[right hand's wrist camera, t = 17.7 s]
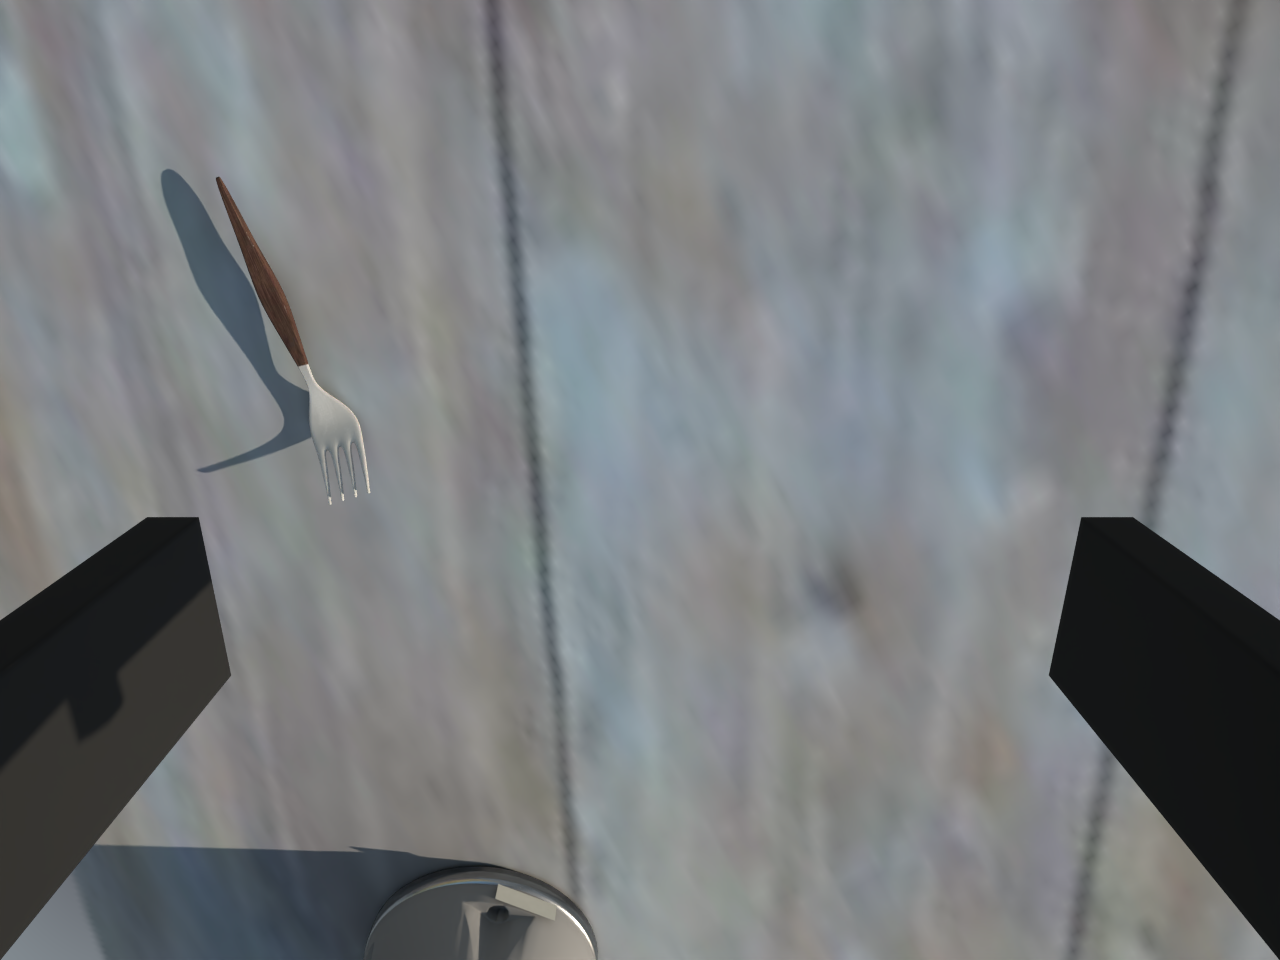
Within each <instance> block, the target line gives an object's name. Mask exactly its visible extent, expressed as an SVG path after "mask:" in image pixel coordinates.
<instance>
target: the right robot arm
mask: <svg viewBox="0 0 1280 960" xmlns="http://www.w3.org/2000/svg"><path fill="white" fill-rule="evenodd" d="M230 676H231V673H230V668H229V663H228V658H227V653H226V648H225V643H224V638H223V634H222V629H221V624H220V619H219V614H218V609H217V604H216V600H215V595H214V590H213V585H212V580H211V575H210V570H209V566H208V561H207V556H206V551H205V546H204V541H203V536H202V531H201V527H200V522H199V517H147V518H145V519H144V520H143V521H141V522H140V523H138V524H137V525H135V526H134V527H133V528H131V529H130V530H128V531H127V532H125V533H124V534H123V535H121V536H120V537H118V538H117V539H116V540H114V541H113V542H111V543H110V544H108V545H107V546H106V547H104V548H103V549H101V550H100V551H98V552H97V553H96V554H94V555H93V556H91V557H90V558H88V559H87V560H86V561H84V562H83V563H81V564H80V565H79V566H77V567H76V568H74V569H73V570H71V571H70V572H69V573H67V574H66V575H64V576H63V577H61V578H60V579H59V580H57V581H56V582H54V583H53V584H51V585H50V586H49V587H47V588H46V589H44V590H43V591H42V592H40V593H39V594H37V595H36V596H34V597H33V598H32V599H30V600H29V601H27V602H26V603H24V604H23V605H22V606H20V607H19V608H17V609H16V610H14V611H13V612H12V613H10V614H9V615H7V616H6V617H5V618H3V619H2V620H0V960H1V959H2V957H3V956H4V955H5V954H6V952H7V951H8V950H9V949H10V947H11V946H12V945H13V944H14V943H15V941H16V940H17V939H18V938H19V936H20V935H21V934H22V933H23V931H24V930H25V929H26V928H27V927H28V925H29V924H30V923H31V922H32V920H33V919H34V918H35V917H36V915H37V914H38V913H39V912H40V910H41V909H42V908H43V907H44V905H45V904H46V903H47V902H48V901H49V899H50V898H51V897H52V896H53V894H54V893H55V892H56V891H57V889H58V888H59V887H60V886H61V885H62V883H63V882H64V881H65V880H66V878H67V877H68V876H69V875H70V873H71V872H72V871H73V870H74V869H75V867H76V866H77V865H78V864H79V862H80V861H81V860H82V859H83V857H84V856H85V855H86V854H87V852H88V851H89V850H90V849H91V848H92V846H93V845H94V844H95V843H96V841H97V840H98V839H99V838H100V836H101V835H102V834H103V833H104V832H105V830H106V829H107V828H108V827H109V825H110V824H111V823H112V822H113V820H114V819H115V818H116V817H117V815H118V814H119V813H120V812H121V811H122V809H123V808H124V807H125V806H126V804H127V803H128V802H129V801H130V799H131V798H132V797H133V796H134V795H135V793H136V792H137V791H138V790H139V788H140V787H141V786H142V785H143V783H144V782H145V781H146V780H147V778H148V777H149V776H150V775H151V774H152V772H153V771H154V770H155V769H156V767H157V766H158V765H159V764H160V762H161V761H162V760H163V759H164V758H165V756H166V755H167V754H168V753H169V751H170V750H171V749H172V748H173V746H174V745H175V744H176V743H177V741H178V740H179V739H180V738H181V737H182V735H183V734H184V733H185V732H186V730H187V729H188V728H189V727H190V725H191V724H192V723H193V722H194V721H195V719H196V718H197V717H198V716H199V714H200V713H201V712H202V711H203V709H204V708H205V707H206V706H207V704H208V703H209V702H210V701H211V700H212V698H213V697H214V696H215V695H216V693H217V692H218V691H219V690H220V688H221V687H222V686H223V685H224V684H225V682H226V681H227V680H228V679H229V677H230ZM1049 676H1050V677H1051V679H1052V680H1053V681H1054V682H1055V684H1056V685H1057V686H1058V687H1059V688H1060V690H1061V691H1062V692H1063V693H1064V695H1065V696H1066V697H1067V698H1068V700H1069V701H1070V702H1071V703H1072V704H1073V706H1074V707H1075V708H1076V709H1077V711H1078V712H1079V713H1080V714H1081V716H1082V717H1083V718H1084V719H1085V721H1086V722H1087V723H1088V724H1089V725H1090V727H1091V728H1092V729H1093V730H1094V732H1095V733H1096V734H1097V735H1098V737H1099V738H1100V739H1101V740H1102V741H1103V743H1104V744H1105V745H1106V746H1107V748H1108V749H1109V750H1110V751H1111V753H1112V754H1113V755H1114V756H1115V758H1116V759H1117V760H1118V761H1119V762H1120V764H1121V765H1122V766H1123V767H1124V769H1125V770H1126V771H1127V772H1128V774H1129V775H1130V776H1131V777H1132V778H1133V780H1134V781H1135V782H1136V783H1137V785H1138V786H1139V787H1140V788H1141V790H1142V791H1143V792H1144V793H1145V795H1146V796H1147V797H1148V798H1149V799H1150V801H1151V802H1152V803H1153V804H1154V806H1155V807H1156V808H1157V809H1158V811H1159V812H1160V813H1161V814H1162V815H1163V817H1164V818H1165V819H1166V820H1167V822H1168V823H1169V824H1170V825H1171V827H1172V828H1173V829H1174V830H1175V832H1176V833H1177V834H1178V835H1179V836H1180V838H1181V839H1182V840H1183V841H1184V843H1185V844H1186V845H1187V846H1188V848H1189V849H1190V850H1191V851H1192V852H1193V854H1194V855H1195V856H1196V857H1197V859H1198V860H1199V861H1200V862H1201V864H1202V865H1203V866H1204V867H1205V869H1206V870H1207V871H1208V872H1209V873H1210V875H1211V876H1212V877H1213V878H1214V880H1215V881H1216V882H1217V883H1218V885H1219V886H1220V887H1221V888H1222V889H1223V891H1224V892H1225V893H1226V894H1227V896H1228V897H1229V898H1230V899H1231V901H1232V902H1233V903H1234V904H1235V906H1236V907H1237V908H1238V909H1239V910H1240V912H1241V913H1242V914H1243V915H1244V917H1245V918H1246V919H1247V920H1248V922H1249V923H1250V924H1251V925H1252V927H1253V928H1254V929H1255V930H1256V931H1257V933H1258V934H1259V935H1260V936H1261V938H1262V939H1263V940H1264V941H1265V943H1266V944H1267V945H1268V946H1269V947H1270V949H1271V950H1272V951H1273V952H1274V954H1275V955H1276V956H1277V957H1278V959H1279V960H1280V620H1278V619H1277V618H1275V617H1274V616H1273V615H1271V614H1270V613H1268V612H1267V611H1266V610H1264V609H1263V608H1261V607H1260V606H1258V605H1257V604H1256V603H1254V602H1253V601H1251V600H1250V599H1248V598H1247V597H1246V596H1244V595H1243V594H1241V593H1240V592H1238V591H1237V590H1236V589H1234V588H1233V587H1231V586H1230V585H1229V584H1227V583H1226V582H1224V581H1223V580H1221V579H1220V578H1219V577H1217V576H1216V575H1214V574H1213V573H1211V572H1210V571H1209V570H1207V569H1206V568H1204V567H1203V566H1201V565H1200V564H1199V563H1197V562H1196V561H1194V560H1193V559H1192V558H1190V557H1189V556H1187V555H1186V554H1184V553H1183V552H1182V551H1180V550H1179V549H1177V548H1176V547H1174V546H1173V545H1172V544H1170V543H1169V542H1167V541H1166V540H1164V539H1163V538H1162V537H1160V536H1159V535H1157V534H1156V533H1155V532H1153V531H1152V530H1150V529H1149V528H1147V527H1146V526H1145V525H1143V524H1142V523H1140V522H1139V521H1137V520H1136V519H1135V518H1133V517H1081V522H1080V527H1079V531H1078V536H1077V541H1076V546H1075V551H1074V556H1073V561H1072V566H1071V570H1070V575H1069V580H1068V585H1067V590H1066V595H1065V600H1064V604H1063V609H1062V614H1061V619H1060V624H1059V629H1058V634H1057V638H1056V643H1055V648H1054V653H1053V658H1052V663H1051V668H1050V673H1049ZM363 960H598V950H597V943H596V939H595V935H594V933H593V930H592V928H591V926H590V924H589V922H588V920H587V919H586V917H585V916H584V914H583V913H582V912H581V910H580V909H579V908H578V907H577V906H576V905H575V904H574V903H573V902H572V901H571V900H570V899H569V898H568V897H566V896H565V895H564V894H562V893H561V892H560V891H558V890H557V889H555V888H554V887H552V886H550V885H549V884H547V883H545V882H543V881H541V880H538V879H536V878H534V877H531V876H529V875H526V874H522V873H519V872H516V871H511V870H507V869H501V868H494V867H476V866H472V867H459V868H452V869H446V870H442V871H438V872H435V873H431V874H428V875H426V876H423V877H421V878H418V879H416V880H415V881H413V882H411V883H409V884H407V885H406V886H404V887H403V888H401V889H400V890H399V891H397V892H396V893H395V894H394V895H393V896H392V897H391V898H390V899H389V900H388V901H387V902H386V903H385V904H384V906H383V907H382V908H381V910H380V912H379V913H378V915H377V917H376V919H375V921H374V924H373V927H372V929H371V932H370V935H369V938H368V941H367V944H366V948H365V954H364V959H363Z"/></svg>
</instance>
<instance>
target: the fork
mask: <svg viewBox="0 0 1280 960" xmlns="http://www.w3.org/2000/svg"><path fill="white" fill-rule="evenodd" d="M216 181H217V185H218V188H219V191H220V194H221V196H222V199H223V202H224V205H225V208H226V210H227V213H228V216H229V218H230V221H231V224H232V226H233V229H234V232H235V234H236V237H237V240H238V242H239V245H240V248H241V251H242V254H243V256H244V259H245V262H246V265H247V268H248V271H249V274H250V276H251V279H252V282H253V285H254V287H255V290H256V292H257V295H258V297H259V299H260V301H261V303H262V305H263V307H264V309H265V311H266V313H267V315H268V317H269V318H270V320H271V322H272V324H273V325H274V327H275V329H276V330H277V332H278V334H279V335H280V337H281V339H282V341H283V342H284V344H285V346H286V347H287V349H288V351H289V352H290V354H291V356H292V357H293V359H294V361H295V362H296V364H297V366H298V368H299V369H300V371H301V373H302V375H303V377H304V379H305V381H306V383H307V386H308V389H309V425H310V432H311V436H312V439H313V442H314V445H315V448H316V451H317V454H318V458H319V461H320V465H321V469H322V474H323V478H324V482H325V487H326V491H327V496H328V503H329V505H331V495H330V486H329V477H328V469H327V462H326V451H327V450H329V451H330V453H331V456H332V459H333V463H334V467H335V471H336V475H337V480H338V484H339V489H340V493H341V498H342V501H344V493H343V484H342V476H341V468H340V461H339V453H338V449H339V447H340V446H341V447H342V448H343V450H344V453H345V456H346V460H347V464H348V468H349V473H350V477H351V481H352V486H353V490H354V495H355V497H357V491H356V482H355V474H354V466H353V459H352V452H351V444H352V443H355V445H356V447H357V450H358V453H359V457H360V461H361V465H362V470H363V474H364V478H365V482H366V487H367V493H370V488H369V480H368V472H367V464H366V457H365V451H364V445H363V439H362V433H361V428H360V425H359V422H358V420H357V418H356V416H355V415H354V413H353V412H352V411H351V410H350V409H349V408H348V407H347V406H346V405H344V404H343V403H342V402H340V401H339V400H337V399H336V398H334V397H333V396H331V395H330V394H328V393H327V392H326V391H324V390H323V389H322V388H321V387H320V386H319V385H318V384H317V383H316V381H315V379H314V377H313V375H312V373H311V370H310V367H309V364H308V361H307V358H306V355H305V352H304V349H303V346H302V343H301V339H300V336H299V333H298V330H297V327H296V324H295V321H294V318H293V315H292V312H291V309H290V307H289V304H288V301H287V299H286V297H285V294H284V292H283V290H282V288H281V286H280V284H279V282H278V280H277V279H276V277H275V275H274V273H273V271H272V270H271V268H270V266H269V264H268V263H267V261H266V259H265V257H264V256H263V254H262V252H261V251H260V249H259V247H258V245H257V243H256V242H255V240H254V238H253V236H252V234H251V232H250V231H249V229H248V227H247V225H246V223H245V221H244V219H243V217H242V216H241V214H240V212H239V210H238V208H237V206H236V204H235V202H234V201H233V199H232V197H231V195H230V193H229V191H228V190H227V188H226V186H225V185H224V183H223V181H222V180H221V178H220V177H217V178H216Z"/></svg>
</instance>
